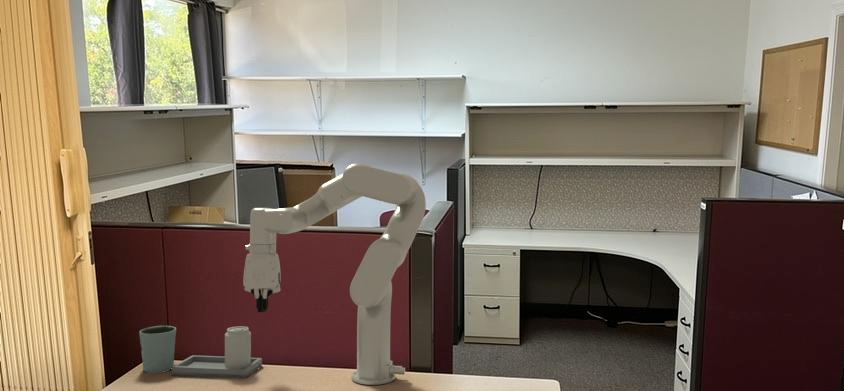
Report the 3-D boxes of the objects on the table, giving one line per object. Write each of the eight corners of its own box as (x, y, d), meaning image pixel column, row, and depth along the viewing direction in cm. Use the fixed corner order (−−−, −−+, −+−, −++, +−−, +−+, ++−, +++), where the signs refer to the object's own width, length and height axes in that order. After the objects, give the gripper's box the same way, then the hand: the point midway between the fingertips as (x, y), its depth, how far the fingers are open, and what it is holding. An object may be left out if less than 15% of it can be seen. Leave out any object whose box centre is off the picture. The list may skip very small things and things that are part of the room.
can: (243, 372, 180) (243, 331, 180) (219, 371, 181) (219, 330, 181) (255, 365, 187) (255, 325, 187) (232, 363, 189) (232, 324, 189)
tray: (262, 366, 190) (262, 358, 190) (245, 378, 178) (245, 370, 178) (192, 363, 193) (192, 355, 193) (171, 375, 180) (171, 366, 180)
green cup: (182, 365, 191) (182, 326, 191) (165, 374, 181) (165, 333, 181) (150, 363, 192) (150, 325, 192) (132, 373, 182) (132, 332, 182)
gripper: (233, 250, 180) (232, 313, 180) (283, 251, 178) (282, 315, 179) (243, 247, 188) (243, 308, 188) (291, 249, 186) (290, 310, 186)
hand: (262, 311), depth 183 cm, fingers closed
